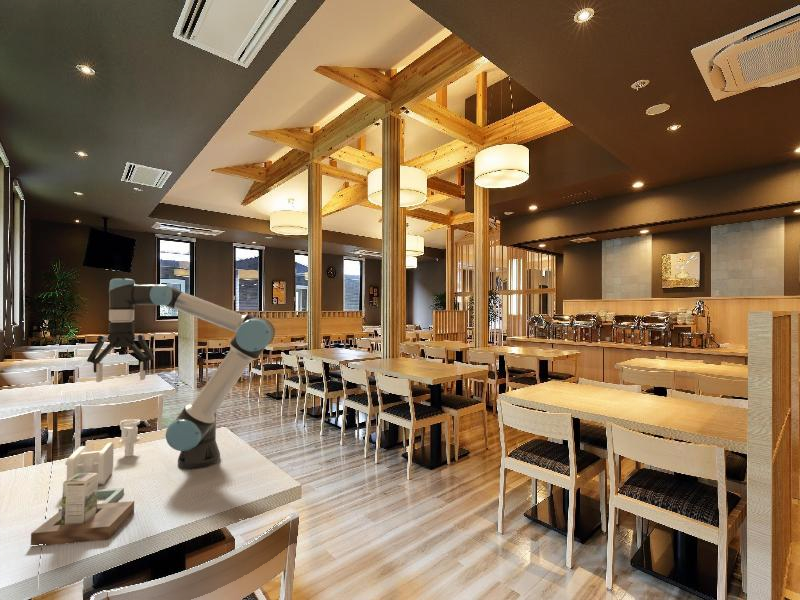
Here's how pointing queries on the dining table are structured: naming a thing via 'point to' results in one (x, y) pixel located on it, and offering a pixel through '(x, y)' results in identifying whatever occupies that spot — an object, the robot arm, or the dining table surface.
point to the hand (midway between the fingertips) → (121, 380)
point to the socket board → (84, 526)
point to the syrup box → (79, 498)
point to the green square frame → (109, 495)
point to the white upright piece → (129, 435)
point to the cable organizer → (91, 462)
